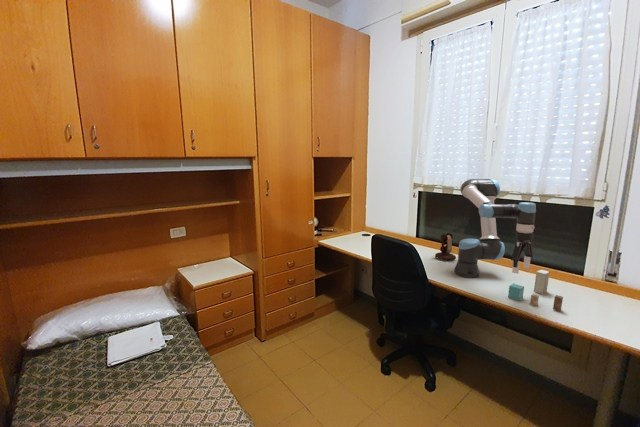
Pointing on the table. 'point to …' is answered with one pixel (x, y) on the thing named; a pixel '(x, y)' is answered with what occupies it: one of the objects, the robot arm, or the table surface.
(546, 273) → the skincare box
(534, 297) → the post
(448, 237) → the brown statuette
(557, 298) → the post
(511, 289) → the teal block
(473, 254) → the robot arm
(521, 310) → the table surface
